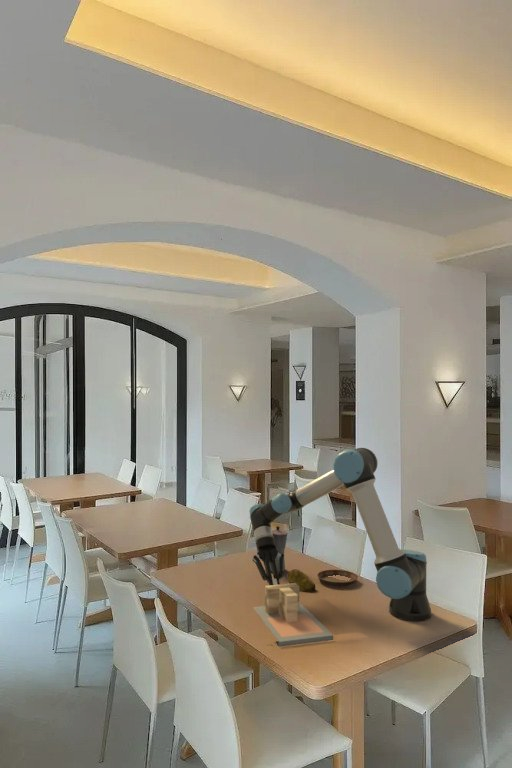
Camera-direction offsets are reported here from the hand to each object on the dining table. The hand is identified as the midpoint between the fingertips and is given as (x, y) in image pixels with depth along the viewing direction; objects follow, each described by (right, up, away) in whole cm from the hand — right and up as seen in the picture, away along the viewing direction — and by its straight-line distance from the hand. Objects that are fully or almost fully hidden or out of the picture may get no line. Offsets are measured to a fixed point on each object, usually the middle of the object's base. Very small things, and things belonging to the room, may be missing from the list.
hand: (277, 596), depth 200 cm
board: (+4, -5, -11) cm, 13 cm away
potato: (+11, -7, +22) cm, 26 cm away
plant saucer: (+28, -8, +35) cm, 45 cm away
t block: (+3, -4, -7) cm, 8 cm away
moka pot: (+1, -8, +50) cm, 50 cm away
